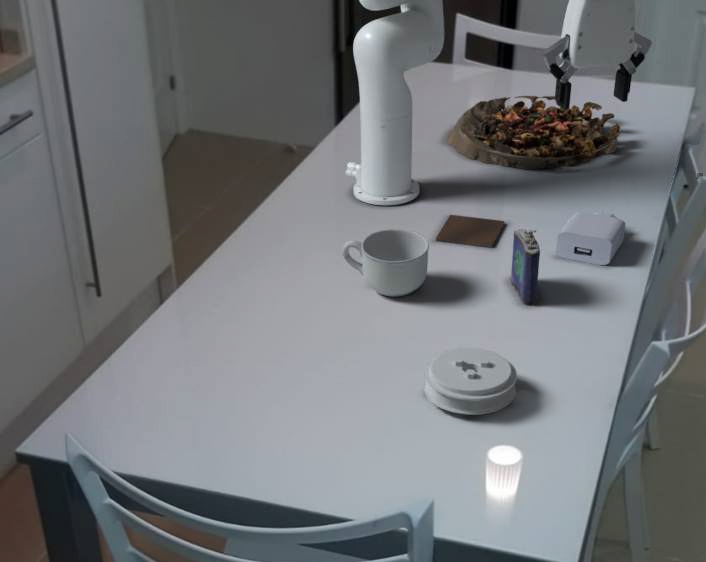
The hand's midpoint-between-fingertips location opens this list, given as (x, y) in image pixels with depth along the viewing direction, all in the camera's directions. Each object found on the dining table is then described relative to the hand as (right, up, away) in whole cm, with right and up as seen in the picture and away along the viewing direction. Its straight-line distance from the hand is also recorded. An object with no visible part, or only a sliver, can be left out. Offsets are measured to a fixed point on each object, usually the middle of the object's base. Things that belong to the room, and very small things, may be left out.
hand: (591, 102), depth 165 cm
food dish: (+1, +13, +62) cm, 63 cm away
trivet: (-15, -13, +28) cm, 35 cm away
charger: (+6, -17, +23) cm, 29 cm away
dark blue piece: (-9, -27, +10) cm, 30 cm away
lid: (-20, -46, -13) cm, 51 cm away
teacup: (-31, -26, +13) cm, 42 cm away
